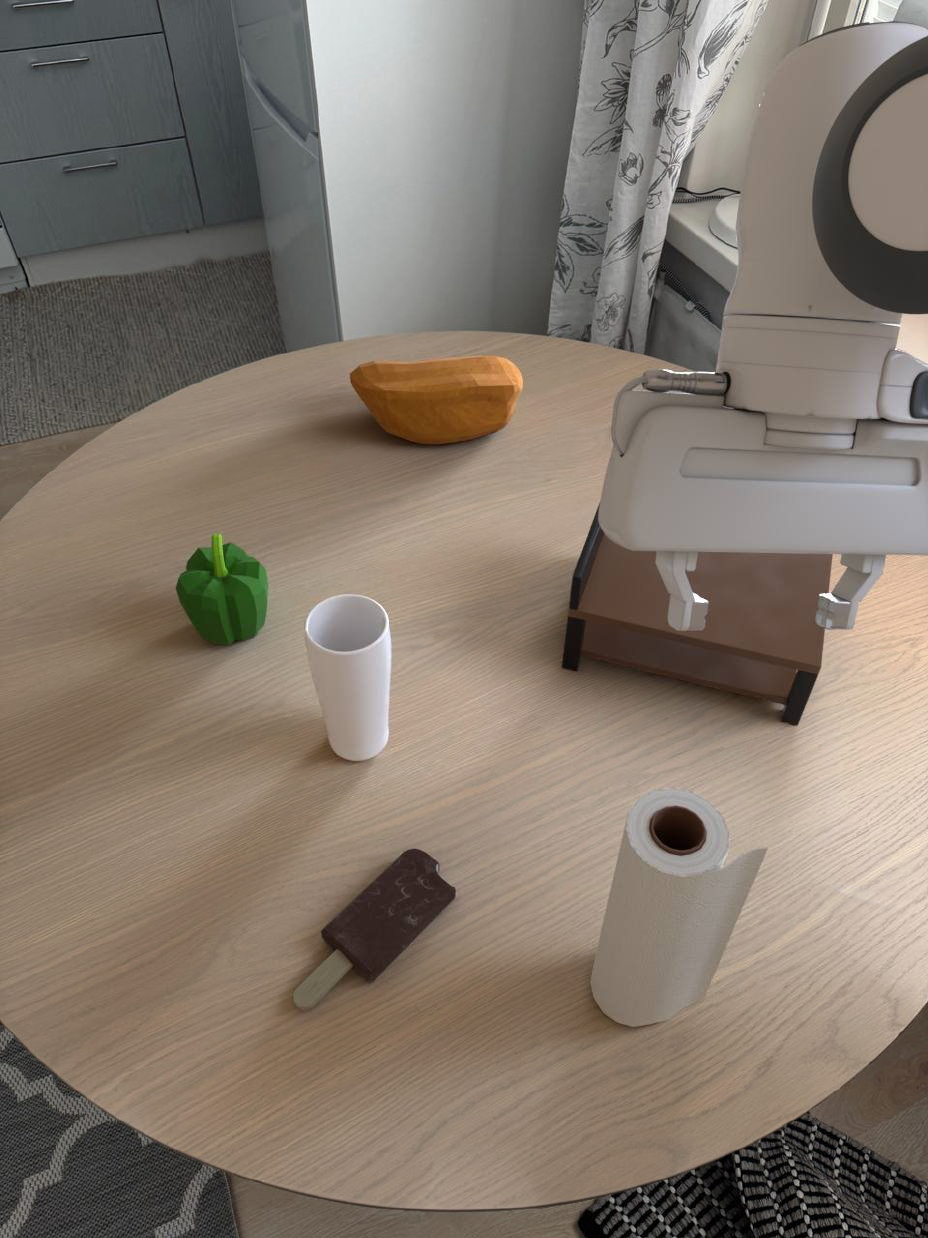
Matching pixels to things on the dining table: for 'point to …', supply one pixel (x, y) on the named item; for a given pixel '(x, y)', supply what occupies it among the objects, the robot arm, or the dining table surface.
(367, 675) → the drinking glass
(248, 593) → the bell pepper
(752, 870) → the paper towel roll
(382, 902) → the ice cream bar
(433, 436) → the bread
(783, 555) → the rack
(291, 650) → the dining table surface
